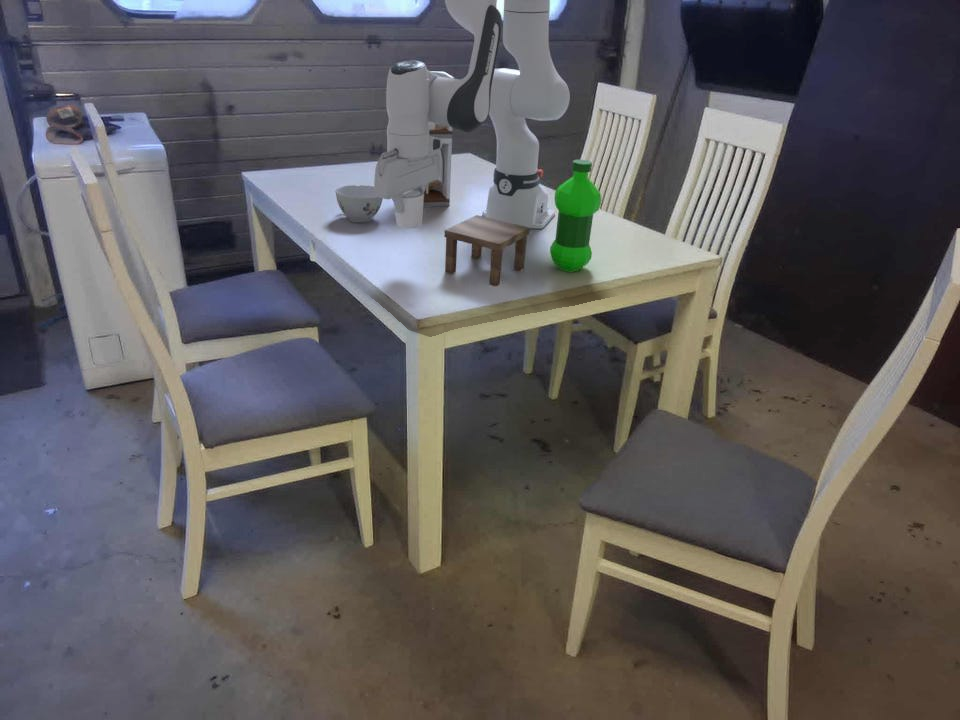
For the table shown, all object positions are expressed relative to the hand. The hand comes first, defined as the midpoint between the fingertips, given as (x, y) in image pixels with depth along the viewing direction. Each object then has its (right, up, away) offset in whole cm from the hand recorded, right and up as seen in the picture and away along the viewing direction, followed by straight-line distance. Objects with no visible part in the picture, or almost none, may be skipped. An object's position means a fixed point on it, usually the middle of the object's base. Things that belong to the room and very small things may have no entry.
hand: (408, 208), depth 156 cm
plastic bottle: (+37, -12, +12) cm, 41 cm away
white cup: (0, -3, +2) cm, 4 cm away
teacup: (-17, +5, +36) cm, 40 cm away
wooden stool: (+17, -13, +8) cm, 22 cm away
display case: (0, +14, +53) cm, 55 cm away
